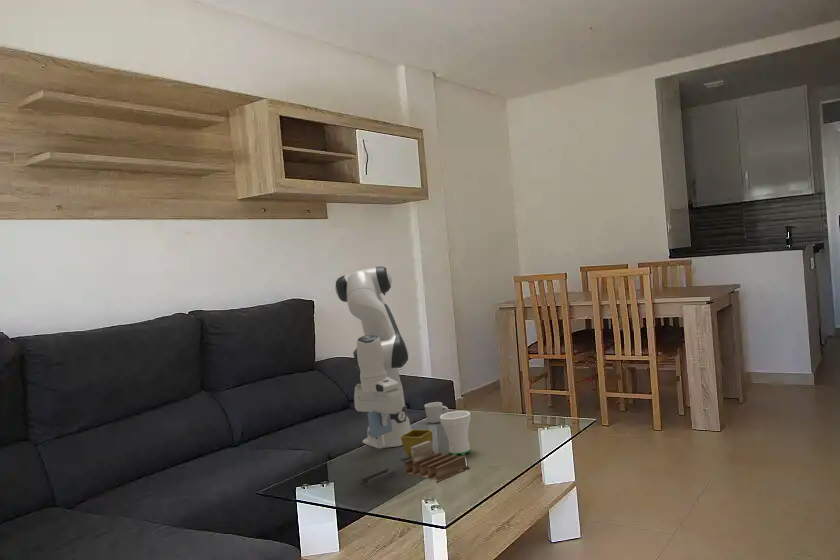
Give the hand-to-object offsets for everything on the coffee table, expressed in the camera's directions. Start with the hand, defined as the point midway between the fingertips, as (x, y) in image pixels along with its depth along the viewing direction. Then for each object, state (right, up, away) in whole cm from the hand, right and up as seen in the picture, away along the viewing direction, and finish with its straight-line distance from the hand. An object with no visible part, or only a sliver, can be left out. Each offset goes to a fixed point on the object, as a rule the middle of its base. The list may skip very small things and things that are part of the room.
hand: (380, 425), depth 224 cm
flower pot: (+13, -17, +23) cm, 31 cm away
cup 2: (+28, -15, +21) cm, 38 cm away
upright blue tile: (0, -3, 0) cm, 3 cm away
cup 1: (+21, -14, +73) cm, 77 cm away
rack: (+18, -16, +3) cm, 25 cm away
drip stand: (-1, -19, +1) cm, 19 cm away
